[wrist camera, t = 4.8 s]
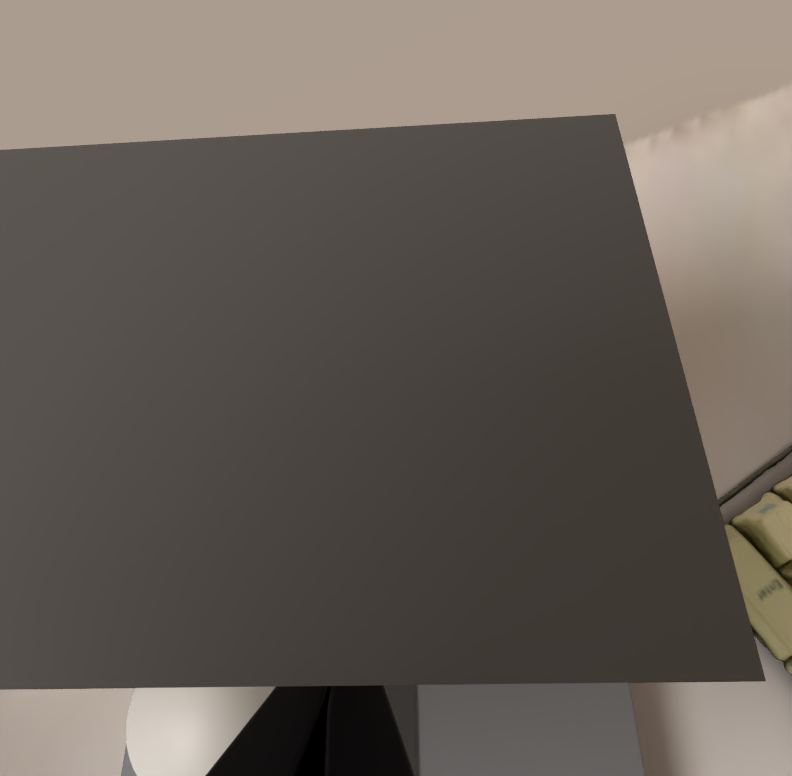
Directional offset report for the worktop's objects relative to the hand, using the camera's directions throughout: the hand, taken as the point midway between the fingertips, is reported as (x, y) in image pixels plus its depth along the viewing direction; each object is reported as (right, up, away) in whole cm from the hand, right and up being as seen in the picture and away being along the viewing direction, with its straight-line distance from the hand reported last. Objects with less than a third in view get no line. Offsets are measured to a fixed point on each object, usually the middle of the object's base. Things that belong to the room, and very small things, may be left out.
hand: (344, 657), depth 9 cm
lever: (0, -1, +6) cm, 6 cm away
